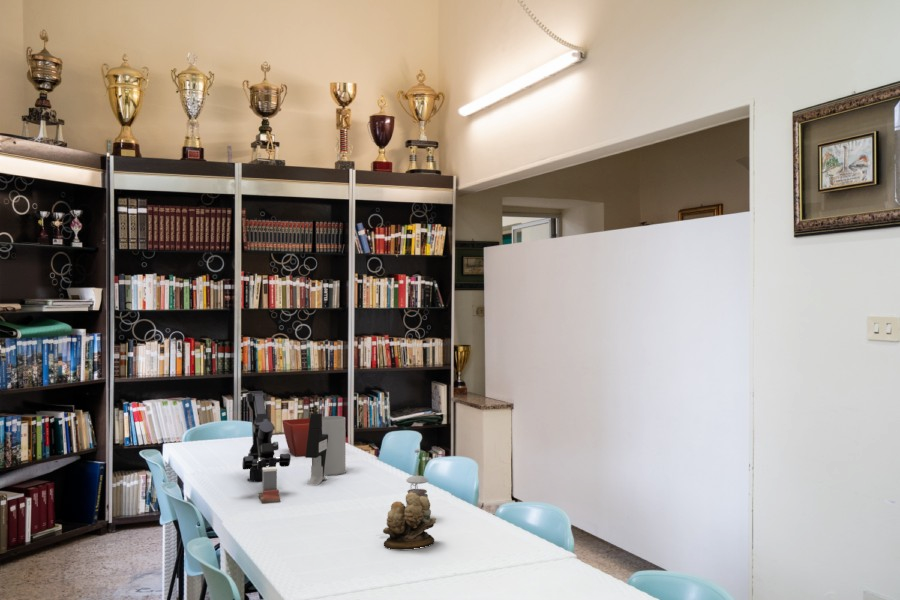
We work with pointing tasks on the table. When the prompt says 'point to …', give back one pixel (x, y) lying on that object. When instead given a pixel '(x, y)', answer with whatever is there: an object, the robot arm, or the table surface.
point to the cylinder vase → (334, 444)
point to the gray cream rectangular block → (269, 478)
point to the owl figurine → (409, 523)
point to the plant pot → (296, 435)
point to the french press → (417, 480)
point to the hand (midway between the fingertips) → (268, 479)
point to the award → (316, 449)
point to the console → (269, 496)
